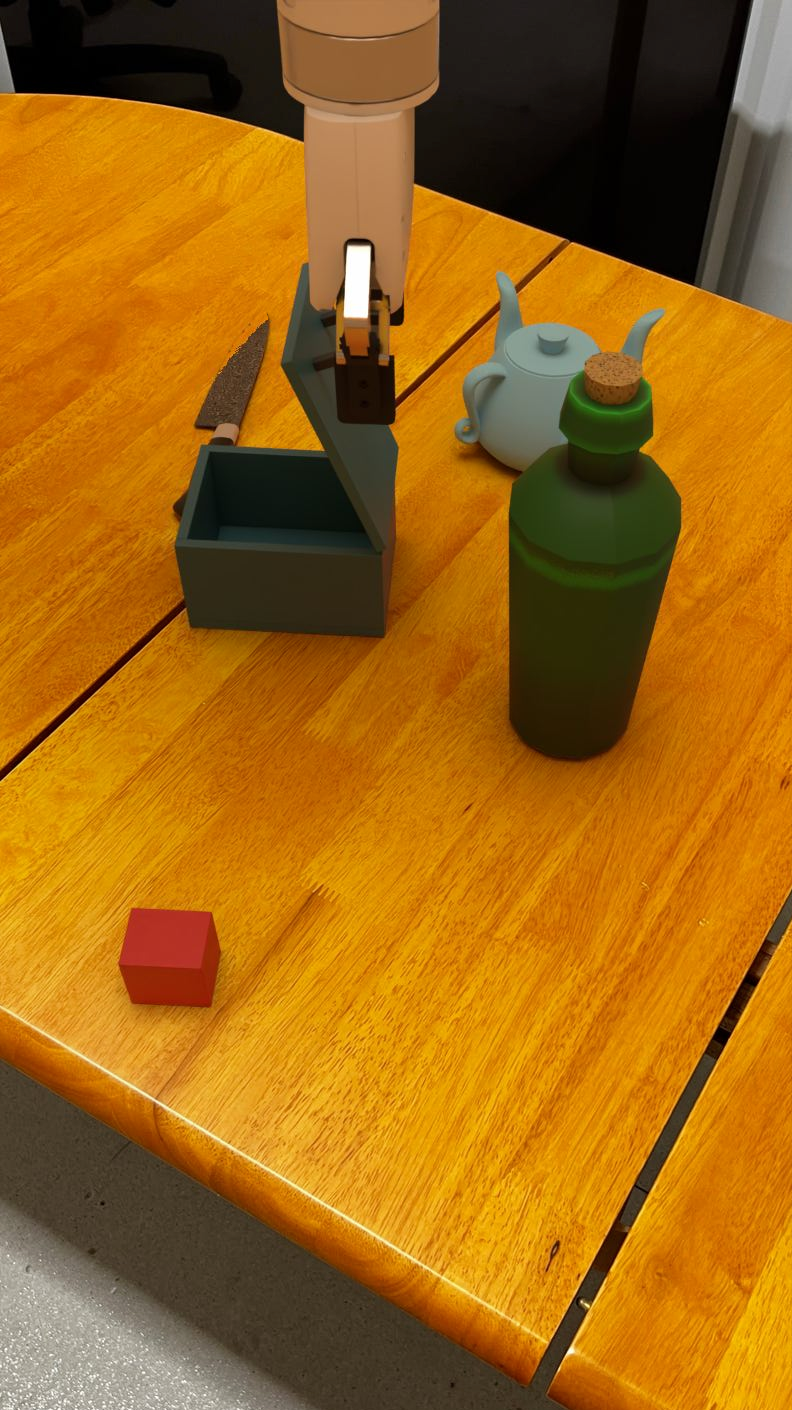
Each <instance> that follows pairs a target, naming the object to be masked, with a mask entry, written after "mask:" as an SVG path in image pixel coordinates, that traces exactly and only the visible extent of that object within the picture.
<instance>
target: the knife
mask: <svg viewBox="0 0 792 1410" xmlns="http://www.w3.org/2000/svg"><path fill="white" fill-rule="evenodd" d="M269 330H270V319H269V320H266V321H265V323H263V324H261V325H260V326H259V328H258V327H257V329H256V331H255V332H254V333H252V334H251V336H249V337H248V340H247V341H246V343H244V344H242V345H241V346H239V347H241V348H239V347H238V348H239V349H238V350H239V351H238V350H236V351H238V352H236V351H235V352H236V353H235V354H233V356H232V357H231V358H229V360H228V362H227V365H226V366H224V367H223V369H222V370H221V371H222V372H221V371H220V372H221V373H220V374H217V373H216V375H217V377H216V376H215V377H216V378H215V377H214V379H215V381H214V380H212V384H211V386H210V387H209V390H208V392H207V394H206V396H205V398H204V401H203V403H202V404H201V406H200V407H201V408H200V409H199V412H198V414H197V417H196V419H195V420H194V424H193V425H194V426H195V427H208V428H216V429H214V432H213V434H212V436H211V438H210V439H209V441H208V444H207V445H222V446H236V442H237V439H238V436H239V433H240V428H239V427H240V424H241V422H242V418H243V416H244V413H245V411H246V407H247V404H248V403H249V398H250V397H251V393H252V390H253V388H254V385H255V382H256V378H257V376H258V373H259V369H260V367H261V363H262V361H263V356H264V354H265V349H266V345H267V341H268V336H269ZM236 349H237V348H236ZM237 353H238V354H237ZM194 469H195V466H194V467H193V470H192V474H191V476H190V480H189V484H188V488H187V490H186V491H185V492H184V493H182V495H180V496H179V498H178V499H176V500H175V502H174V503H173V504H172V511H173V512H174V514H175V515H176V516H177V517H178V518H179V519H180V520H181V518H182V514H183V510H184V507H185V503H186V499H187V495H188V492H189V488H190V484H191V480H192V476H193V473H194Z"/></svg>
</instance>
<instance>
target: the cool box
mask: <svg viewBox="0 0 792 1410" xmlns="http://www.w3.org/2000/svg"><path fill="white" fill-rule="evenodd" d="M194 467H195V469H194V468H193V470H194V473H193V472H192V473H193V476H192V475H191V476H192V480H191V479H190V480H191V484H190V488H189V492H188V495H187V499H186V503H185V507H184V510H183V514H182V518H181V519H180V522H179V526H178V530H177V533H176V537H175V540H174V545H173V547H174V553H175V559H176V564H177V568H178V573H179V579H180V583H181V588H182V589H181V590H182V595H183V599H184V606H185V609H186V615H187V619H188V620H187V621H188V626H189V628H197V629H214V630H215V629H217V630H236V631H254V632H255V631H256V632H274V633H291V634H292V633H293V634H294V633H295V634H311V635H312V634H313V635H331V636H350V637H351V636H353V637H369V638H370V637H371V638H372V637H373V638H385V636H386V629H387V620H388V612H389V611H388V610H389V603H390V593H391V585H392V575H393V568H394V559H395V550H396V540H397V517H396V516H397V513H396V506H397V505H396V484H395V485H394V494H393V502H392V511H391V519H390V528H389V536H388V545H387V550H384V551H380V552H377V551H376V549H375V547H374V545H373V543H372V542H371V540H370V538H369V536H368V534H367V532H366V530H365V528H364V526H363V524H362V522H361V520H360V518H359V516H358V514H357V512H356V511H355V509H354V507H353V505H352V503H351V501H350V499H349V497H348V495H347V493H346V491H345V489H344V487H343V485H342V483H341V481H340V480H339V478H338V476H337V474H336V472H335V470H334V468H333V466H332V464H331V462H330V460H329V458H328V456H327V454H326V452H325V450H317V449H316V450H315V449H299V448H297V449H296V448H276V447H262V446H261V447H257V446H240V445H234V446H222V445H208V444H200V446H199V450H198V454H197V458H196V462H195V465H194Z"/></svg>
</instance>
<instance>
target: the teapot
mask: <svg viewBox="0 0 792 1410" xmlns="http://www.w3.org/2000/svg"><path fill="white" fill-rule="evenodd" d="M495 281H496V285H497V288H498V292H499V301H500V303H499V315H498V321H497V326H496V330H495V335H494V341H493V342H494V343H493V354H492V355H491V356H489V359H488V360H487V361H486V362H484V363H481V364H479V365H477V366H475V367H473V368H472V369H471V370H469V372H468V373H467V374H466V375H465V377H464V379H463V382H462V387H461V388H462V391H461V392H462V398H463V404H464V406H465V410H466V413H467V416H468V417H462V418H459V420H457V422H456V423H455V425H454V428H453V433H454V436H455V439H456V440H457V441H458V442H460V443H461V444H465V445H472V444H475V443H477V442H479V443H480V445H481V447H483V449H485V450H486V451H487V452H488V453H489V454H490V455H491V456H492V457H494V459H496V460H497V461H498V462H500V463H501V464H503V465H504V466H507V467H508V468H510V469H513V470H515V471H518V472H522V473H523V472H524V471H525V470H526V469H527V468H528V467H529V466H530V465H531V464H532V463H533V462H534V461H536V460H537V459H538V458H539V457H540V456H541V455H542V454H543V453H545V452H546V451H547V450H548V449H549V448H551V447H555V446H559V445H563V444H567V443H568V439H567V438H566V437H565V435H564V434H563V433H562V432H561V430H560V429H559V418H560V411H561V408H562V405H563V402H564V399H565V396H566V393H567V390H568V387H569V384H570V381H571V379H573V378H574V377H575V376H576V375H577V374H578V373H580V372H581V371H582V370H584V367H585V361H586V360H587V359H589V358H590V357H591V356H592V355H594V354H598V353H602V352H603V351H602V349H601V348H600V347H599V345H598V343H596V341H595V340H594V339H593V338H592V337H591V336H590V335H589V334H587V333H586V332H584V331H582V330H581V329H578V328H576V327H574V326H571V325H567V324H563V323H559V322H541V323H534V324H529V325H526V326H524V323H523V318H522V317H523V316H522V312H521V308H520V303H519V299H518V293H517V290H516V286H515V285H514V283H513V280H512V279H511V278H510V276H509V275H508V274H507V273H506V272H504V271H502V270H498V271H496V273H495ZM665 314H666V309H665V308H656V309H652V310H650V311H648V312H646V313H645V314H643V315H642V316H640V317H639V318H638V319H637V320H636V321H635V323H634V324H633V326H632V327H631V329H630V331H629V332H628V335H627V337H626V338H625V341H624V344H623V345H622V348H621V349H620V351H619V353H624V354H626V355H629V356H631V357H633V358H635V359H636V360H637V361H638V362H639V363H640V364H641V365H642V366H643V359H644V352H645V347H646V342H647V339H648V337H649V336H650V335H649V334H650V332H651V331H652V329H653V328H654V326H655V325H656V324H657V323H659V321H660V320H661V319H662V318H663V317H664V316H665ZM467 427H468V429H467V430H465V429H466V428H467Z"/></svg>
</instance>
